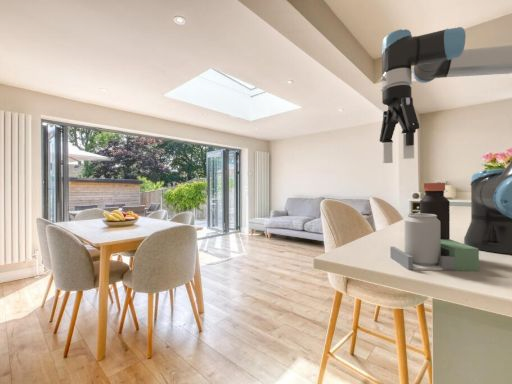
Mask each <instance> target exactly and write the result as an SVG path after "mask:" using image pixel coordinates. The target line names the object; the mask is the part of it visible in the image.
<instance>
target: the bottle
mask: <svg viewBox="0 0 512 384" xmlns="http://www.w3.org/2000/svg"><path fill="white" fill-rule="evenodd" d="M423 192H424V193H425V194H424V196H423V197H422V198H421V199H420V201H419V213H424V214H434V215H437V219H438V220H439V221H440V232H441V239H450V238H451V236H450V235H451V233H450V229H451V228H450V227H451V226H450V225H451V224H450V216H451V215H450V205H451V204H450V200H449V199H448V198H447V197H446V196H445V192H446V183H445V182H426V183H425V182H424V183H423ZM450 240H451V239H450Z"/></svg>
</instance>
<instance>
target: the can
mask: <svg viewBox="0 0 512 384" xmlns="http://www.w3.org/2000/svg"><path fill="white" fill-rule="evenodd" d="M404 252H405V253H407V254H409V255H410V256H412V257H413V263H414V264H419V265H436V264H437V263H438V262H440V256H441V232H440V221H439V220H438V219H437V215H434V214H424V213H420V212H417V213H416V212H415V213H412V212H411V213H407V217H406V218H405V219H404Z"/></svg>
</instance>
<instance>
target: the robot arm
mask: <svg viewBox="0 0 512 384" xmlns="http://www.w3.org/2000/svg"><path fill="white" fill-rule="evenodd" d="M466 36H467V35H466V30H465V28H463V27H462V26H459V27H453V28H446V29H443V30H437V31H433V32H429V33H426V34H420V35H417V36H416V35H414V36H413V35H412V32H411V30H409V29H401V28H400V29H397V30H394V31H391V32H390V33H388V34H387V35H386V36H385V37H384V38H383V40H382V42H381V43H382V44H381V45H382V46H381V47H382V49H381V71H382V73H381V75H382V77H381V78H380V81H381V83H382V85H381V87H382V92H381V95H382V99H381V100H382V102H381V103H382V104H383V105H385V106H387V110H384V111H383V115H382V124H381V130H380V134H379V143H382V164H391V163H392V164H393V143H394V141H393V136H394V132H395V129H396V125H397V124H399V125H400V127H401V129H402V130H401V142H402V143H401V148H402V149H401V152H402V154H401V157H402V158H401V159H403V160H405V159H406V160H407V159H408V160H409V159H415V133H416V130H419V129H420V122H419V120H418V116H417V114H416V111H415V106H414V99H413V97H412V86H411V85H412V82H413V81H412V67H413V77H414V79H415V80H416V81H417V82H418V83H425V84H426V83H429V82H432V81H433V80H435V79H440V78H443V79H444V78H458V77H471V76H472V77H474V76H477V77H478V76H488V75H489V76H490V75H491V76H493V75H506V74H507V75H508V74H512V44H507V45H497V46H488V47H479V48H478V47H477V48H466V49H465V44H466V39H467V38H466ZM470 187H471V188H470V189H471V190H470V191H471V192H470V195H471V196H470V200H471V201H470V206H471V207H470V208H471V209H470V210H471V211H470V212H471V213H470V214H471V215H470V217H471V218H470V219H471V221H470V223H469V226H468V228H467V230H466V232H465V235H464V238H463V244H466V245H469V246H472V247H475V248H478V249H479V251H484V252H490V253H498V254H509V255H510V254H511V255H512V160H511V161H510V162H509V163H508V165H507V166H506V167H505V168H495V169H494V168H493V169H487V170H480V171H477V172H475V173H473V174H472V175H471V181H470Z"/></svg>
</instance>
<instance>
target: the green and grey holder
mask: <svg viewBox="0 0 512 384" xmlns="http://www.w3.org/2000/svg"><path fill="white" fill-rule="evenodd" d="M389 248H390V249H389V250H390V259H392V260H393V261H395V262H396V263H398V264H400V265H401V266H402V267H403V268H405V269H406V270H409V271H464V272H465V271H471V272H472V271H473V272H474V271H476V272H477V271H478V272H479V271H480V270H479V269H480V267H479V266H480V262H479V261H480V260H479V259H480V258H479V255H480V250H479V249H478V248H475V247H472V246H469V245H466V244H464V242H463V243H462V242H458V241H456V240H453V239H441V256H440V262H438V263H437V264H436V265H419V264H414V263H413V257H412V256H410V255H409V254H407V253H405V251H403V250H401V249H400V248H398V247H396V246H390V247H389Z"/></svg>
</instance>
